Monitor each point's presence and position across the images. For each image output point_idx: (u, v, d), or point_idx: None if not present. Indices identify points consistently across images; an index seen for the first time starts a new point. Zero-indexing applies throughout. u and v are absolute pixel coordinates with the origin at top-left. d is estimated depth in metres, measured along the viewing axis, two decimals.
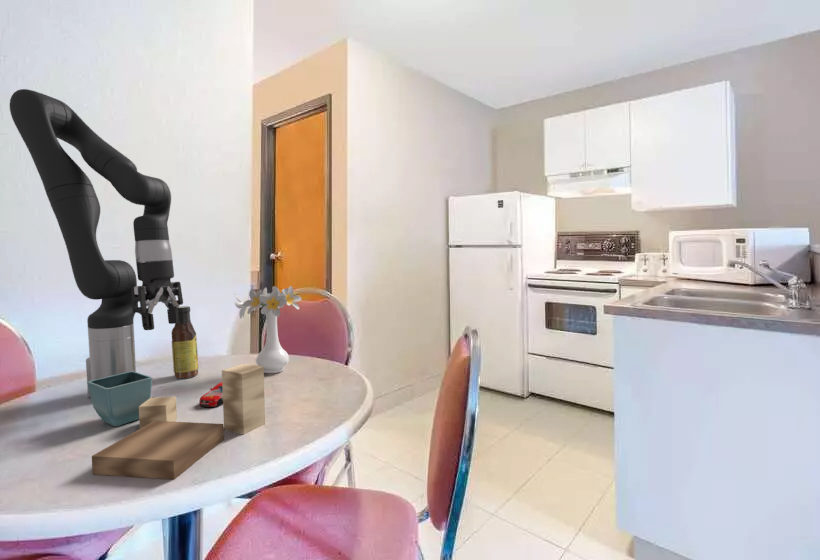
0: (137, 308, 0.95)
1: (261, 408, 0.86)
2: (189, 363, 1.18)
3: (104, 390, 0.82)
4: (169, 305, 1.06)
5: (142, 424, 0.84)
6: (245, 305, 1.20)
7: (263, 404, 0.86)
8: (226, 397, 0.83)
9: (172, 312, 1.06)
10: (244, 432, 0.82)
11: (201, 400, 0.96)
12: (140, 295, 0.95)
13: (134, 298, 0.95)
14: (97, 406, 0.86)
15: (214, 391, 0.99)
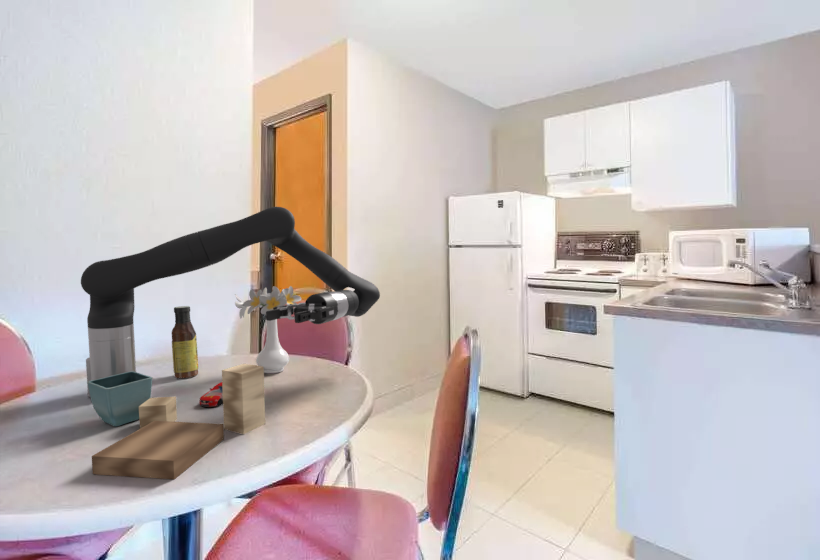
0: (321, 314, 0.95)
1: (261, 408, 0.86)
2: (189, 363, 1.18)
3: (104, 390, 0.82)
4: (282, 310, 1.00)
5: (142, 424, 0.84)
6: (245, 305, 1.20)
7: (263, 404, 0.86)
8: (226, 397, 0.83)
9: (277, 315, 0.98)
10: (244, 432, 0.82)
11: (201, 400, 0.96)
12: (329, 317, 0.98)
13: (328, 311, 0.97)
14: (97, 406, 0.86)
15: (214, 391, 0.99)
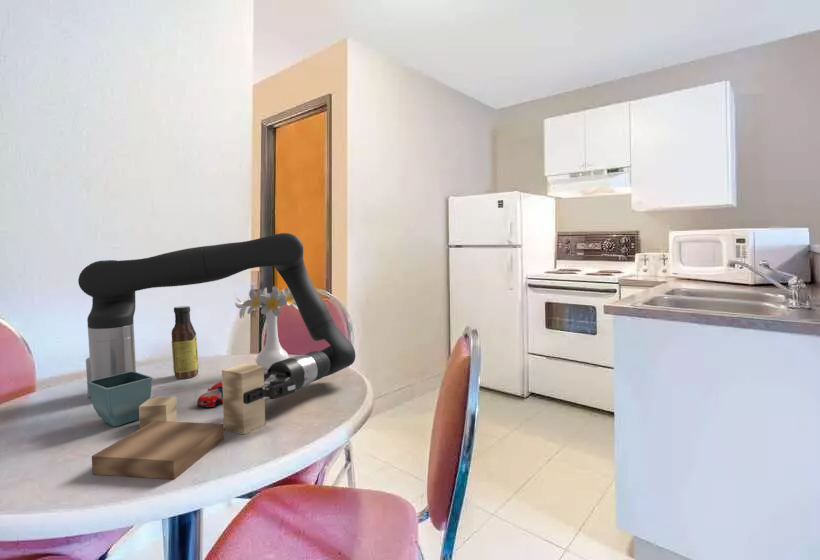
0: (275, 392, 0.85)
1: (261, 408, 0.86)
2: (189, 363, 1.18)
3: (104, 390, 0.82)
4: None
5: (142, 424, 0.84)
6: (245, 305, 1.20)
7: (263, 404, 0.86)
8: (226, 397, 0.83)
9: None
10: (244, 432, 0.82)
11: (199, 400, 0.96)
12: (288, 393, 0.87)
13: (285, 387, 0.86)
14: (97, 406, 0.86)
15: (212, 391, 0.99)
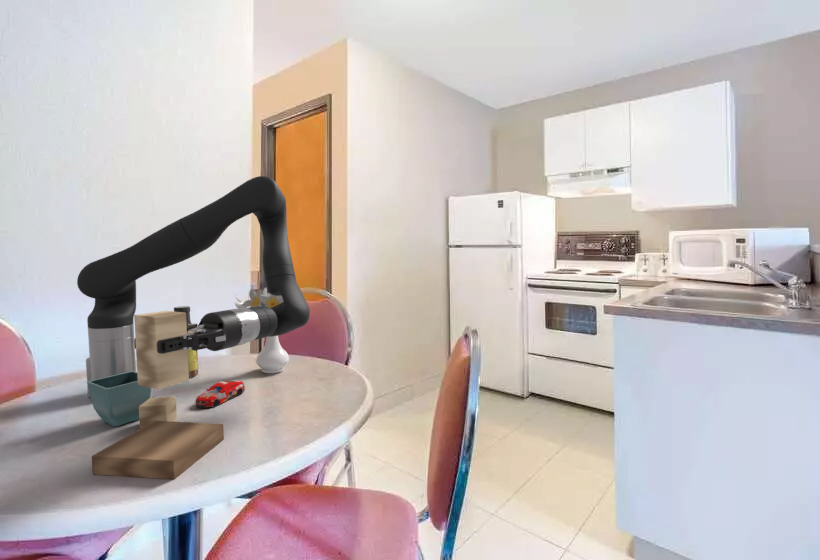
0: (198, 341, 0.72)
1: (183, 361, 0.73)
2: (189, 363, 1.18)
3: (104, 390, 0.82)
4: None
5: (142, 424, 0.84)
6: (245, 305, 1.20)
7: (186, 357, 0.74)
8: (139, 347, 0.71)
9: None
10: (159, 387, 0.70)
11: (197, 401, 0.96)
12: (215, 345, 0.75)
13: (212, 337, 0.74)
14: (97, 406, 0.86)
15: (210, 391, 0.99)
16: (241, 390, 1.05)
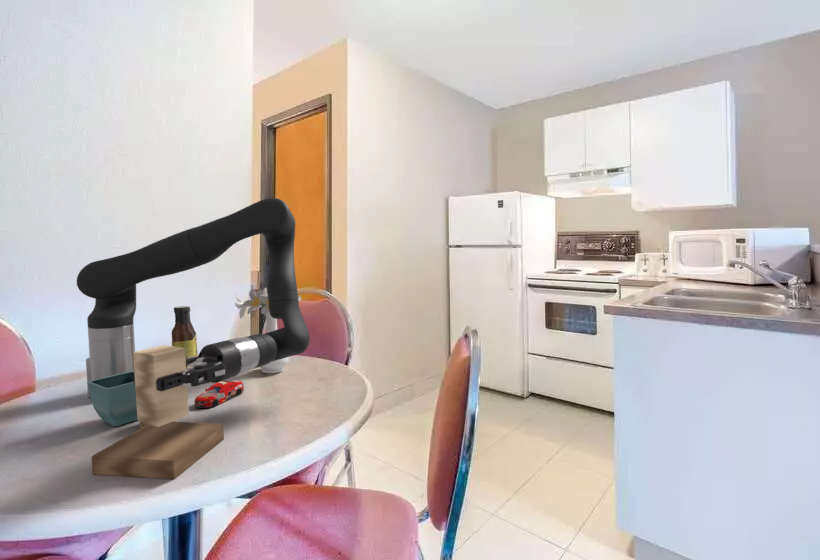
0: (197, 377, 0.72)
1: (182, 396, 0.73)
2: None
3: (104, 390, 0.82)
4: None
5: (142, 424, 0.84)
6: (245, 305, 1.20)
7: (185, 392, 0.74)
8: (138, 384, 0.71)
9: None
10: (158, 424, 0.70)
11: (196, 401, 0.96)
12: (215, 379, 0.75)
13: (211, 372, 0.74)
14: (97, 406, 0.86)
15: (209, 392, 0.99)
16: (240, 390, 1.05)
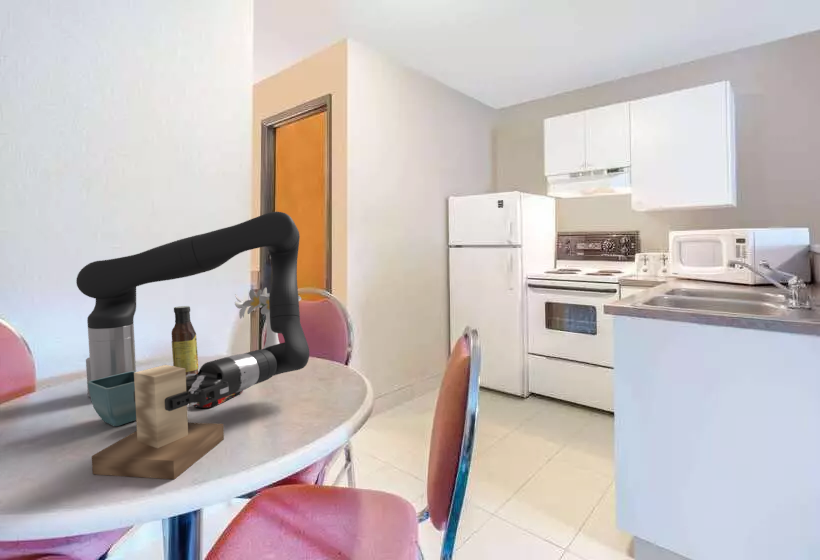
0: (206, 396, 0.73)
1: (182, 417, 0.74)
2: (189, 363, 1.18)
3: (104, 390, 0.82)
4: None
5: None
6: (245, 305, 1.20)
7: (185, 412, 0.74)
8: (139, 404, 0.71)
9: None
10: (158, 445, 0.70)
11: None
12: (220, 397, 0.75)
13: (217, 390, 0.75)
14: (97, 406, 0.86)
15: None
16: None
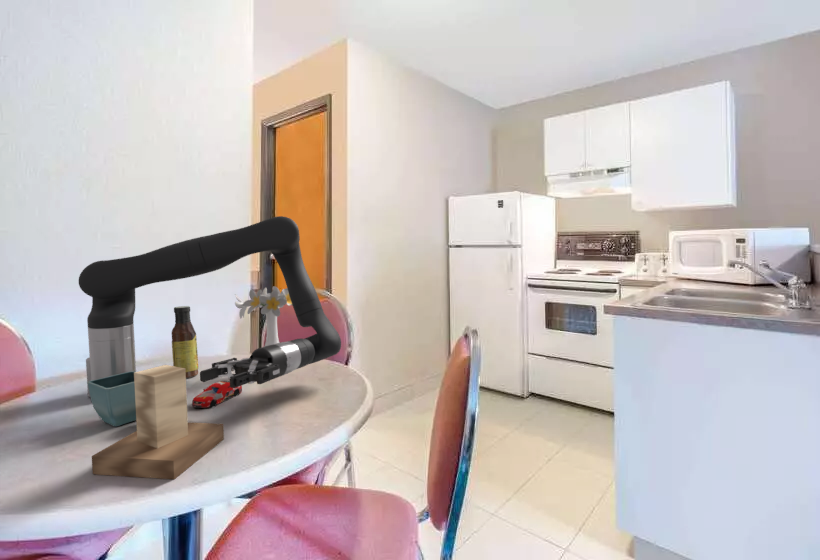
0: (262, 376, 0.84)
1: (182, 417, 0.74)
2: (189, 363, 1.18)
3: (104, 390, 0.82)
4: (220, 368, 0.89)
5: None
6: (245, 305, 1.20)
7: (185, 412, 0.74)
8: (139, 404, 0.71)
9: (214, 374, 0.87)
10: (158, 445, 0.70)
11: (194, 401, 0.95)
12: (273, 378, 0.87)
13: (271, 371, 0.86)
14: (97, 406, 0.86)
15: (207, 392, 0.98)
16: (238, 390, 1.04)
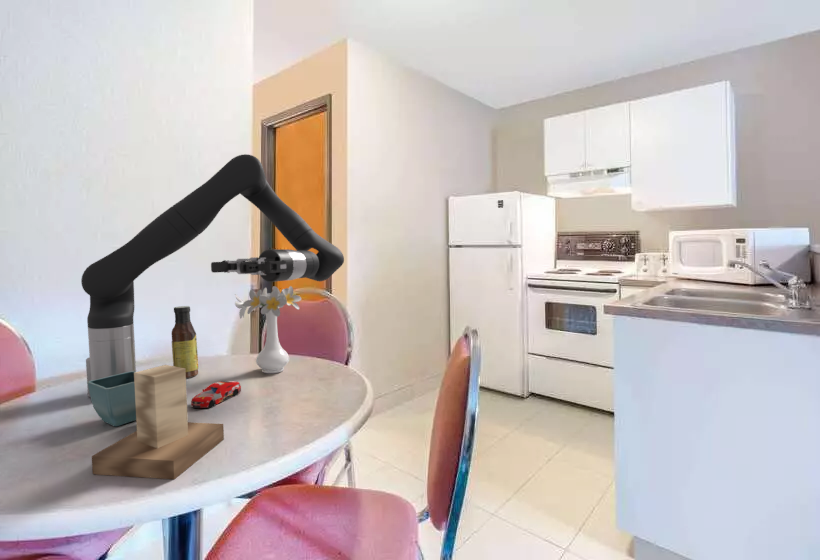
0: (270, 266, 0.89)
1: (182, 417, 0.74)
2: (189, 363, 1.18)
3: (104, 390, 0.82)
4: (230, 264, 0.93)
5: None
6: (245, 305, 1.20)
7: (185, 412, 0.74)
8: (139, 404, 0.71)
9: (224, 268, 0.91)
10: (158, 445, 0.70)
11: (193, 401, 0.95)
12: (281, 271, 0.91)
13: (278, 264, 0.91)
14: (97, 406, 0.86)
15: (206, 392, 0.98)
16: (237, 391, 1.04)
